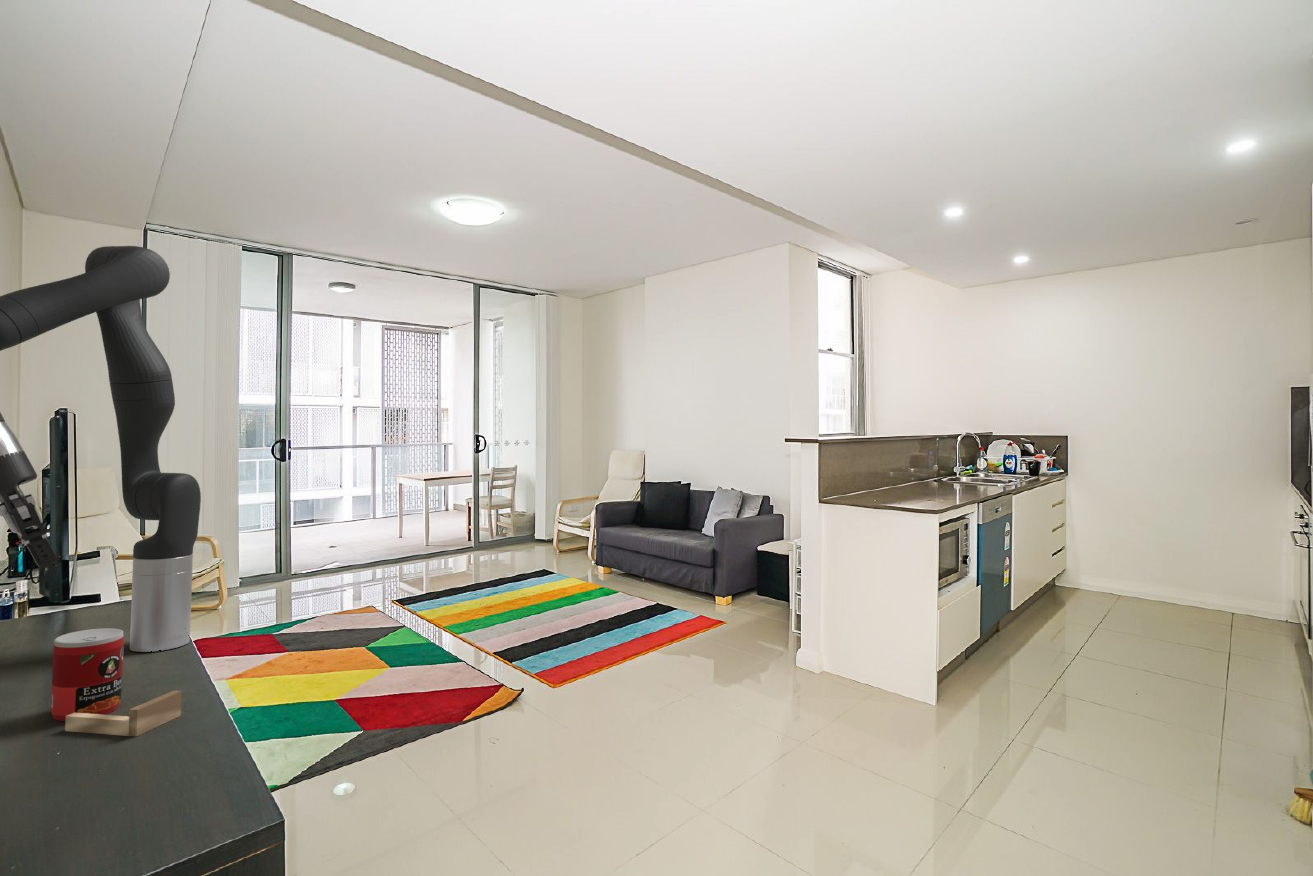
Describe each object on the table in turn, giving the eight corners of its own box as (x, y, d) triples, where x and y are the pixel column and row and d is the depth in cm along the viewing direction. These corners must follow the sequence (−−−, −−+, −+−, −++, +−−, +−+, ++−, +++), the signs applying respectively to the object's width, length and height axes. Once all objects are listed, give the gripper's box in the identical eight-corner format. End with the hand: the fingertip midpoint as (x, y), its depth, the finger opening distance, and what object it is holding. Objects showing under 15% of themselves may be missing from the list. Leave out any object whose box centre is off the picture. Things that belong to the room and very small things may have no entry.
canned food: (80, 725, 89) (83, 645, 90) (34, 719, 91) (38, 640, 91) (135, 704, 97) (138, 630, 97) (92, 699, 98) (95, 626, 99)
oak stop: (65, 731, 87) (66, 704, 87) (114, 710, 94) (115, 686, 94) (136, 736, 86) (137, 710, 86) (181, 715, 93) (181, 690, 93)
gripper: (26, 444, 93) (85, 552, 96) (19, 454, 102) (74, 553, 105) (-46, 464, 88) (19, 577, 91) (-46, 473, 96) (13, 576, 100)
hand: (48, 564), depth 98 cm, fingers closed
